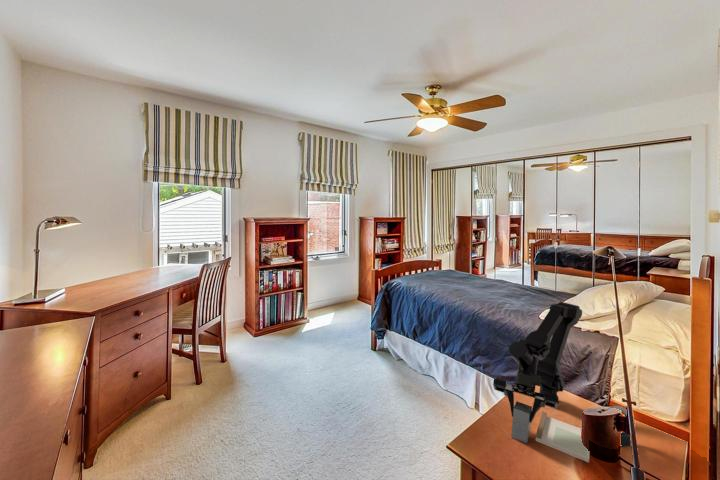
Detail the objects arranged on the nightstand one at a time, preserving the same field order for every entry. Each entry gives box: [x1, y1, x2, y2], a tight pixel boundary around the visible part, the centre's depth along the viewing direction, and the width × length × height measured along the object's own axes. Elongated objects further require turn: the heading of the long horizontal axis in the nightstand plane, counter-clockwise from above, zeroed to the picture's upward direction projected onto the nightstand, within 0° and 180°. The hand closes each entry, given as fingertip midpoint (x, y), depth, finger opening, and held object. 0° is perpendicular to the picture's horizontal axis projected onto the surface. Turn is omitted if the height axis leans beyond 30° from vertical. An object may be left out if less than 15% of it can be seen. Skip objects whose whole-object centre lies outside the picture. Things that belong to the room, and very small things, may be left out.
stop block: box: [510, 400, 533, 445], centre depth 100 cm, size 4×4×10 cm
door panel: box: [535, 411, 591, 463], centre depth 100 cm, size 14×14×2 cm
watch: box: [609, 404, 636, 447], centre depth 99 cm, size 6×8×11 cm
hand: (521, 419), depth 98 cm, fingers closed on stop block, 5 cm apart
